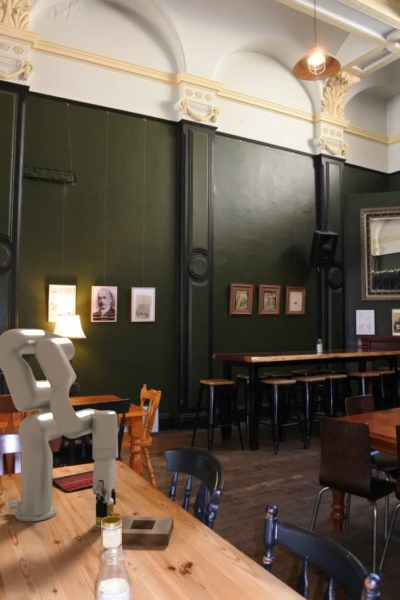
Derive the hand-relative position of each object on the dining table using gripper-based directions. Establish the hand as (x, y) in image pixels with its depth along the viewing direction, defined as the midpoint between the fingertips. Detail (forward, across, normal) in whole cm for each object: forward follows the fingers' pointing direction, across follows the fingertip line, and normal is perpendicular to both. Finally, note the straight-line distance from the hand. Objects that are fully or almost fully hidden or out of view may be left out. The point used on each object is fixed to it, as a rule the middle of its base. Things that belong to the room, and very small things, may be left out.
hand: (106, 510), depth 144 cm
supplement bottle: (+4, 0, -1) cm, 4 cm away
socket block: (+4, +7, +12) cm, 15 cm away
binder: (+4, -40, -20) cm, 45 cm away
